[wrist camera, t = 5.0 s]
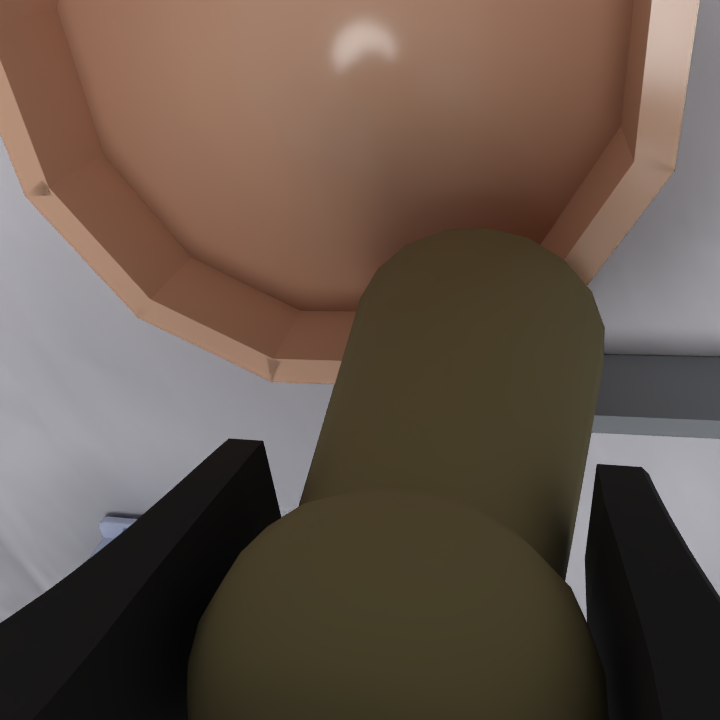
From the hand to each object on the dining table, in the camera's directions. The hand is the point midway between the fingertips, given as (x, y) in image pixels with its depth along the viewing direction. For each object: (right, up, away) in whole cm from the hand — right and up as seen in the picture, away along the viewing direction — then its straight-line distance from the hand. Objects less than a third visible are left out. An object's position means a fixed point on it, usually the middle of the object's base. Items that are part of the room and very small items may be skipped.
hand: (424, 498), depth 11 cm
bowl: (-2, +10, +7) cm, 12 cm away
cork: (+2, +3, +6) cm, 7 cm away
